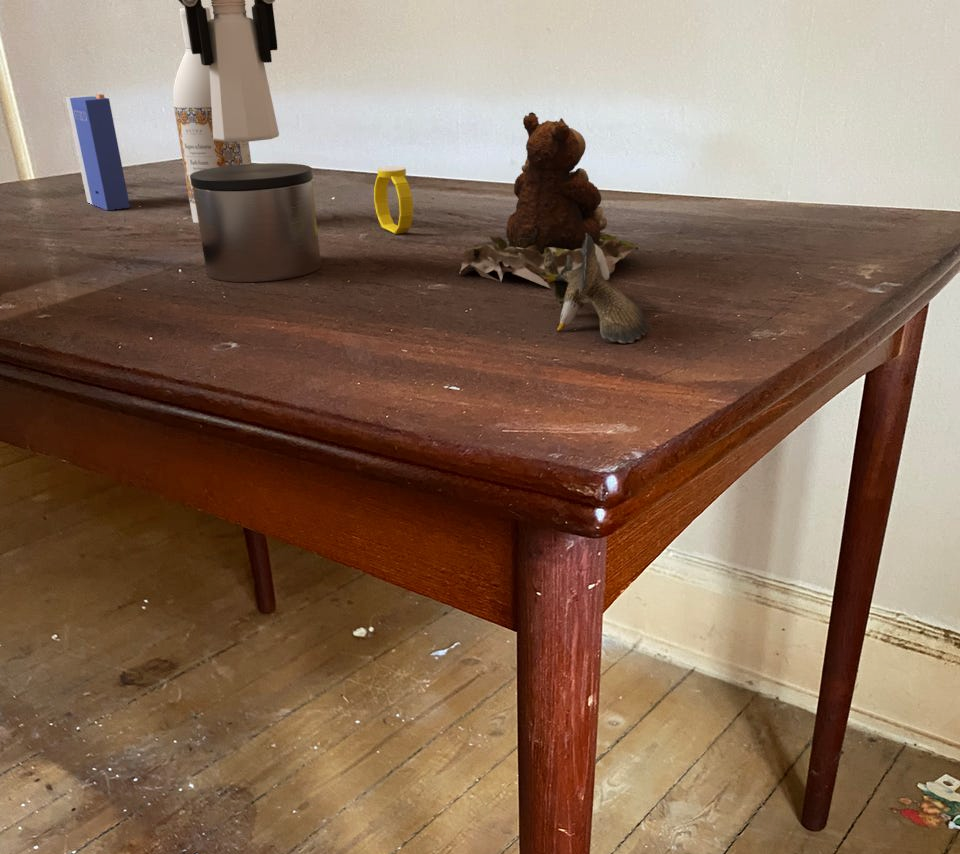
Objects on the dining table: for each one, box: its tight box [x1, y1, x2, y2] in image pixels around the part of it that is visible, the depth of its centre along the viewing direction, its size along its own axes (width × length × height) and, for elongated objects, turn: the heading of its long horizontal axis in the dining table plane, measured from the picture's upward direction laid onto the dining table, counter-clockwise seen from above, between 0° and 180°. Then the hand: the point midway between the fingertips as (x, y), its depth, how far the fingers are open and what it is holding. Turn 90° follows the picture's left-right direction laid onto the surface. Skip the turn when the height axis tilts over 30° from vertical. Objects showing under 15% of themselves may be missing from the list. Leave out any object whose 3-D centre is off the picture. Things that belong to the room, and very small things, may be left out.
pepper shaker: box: [208, 0, 280, 143], centre depth 84 cm, size 5×5×11 cm
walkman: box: [65, 93, 131, 211], centre depth 123 cm, size 8×3×12 cm, turn 35°
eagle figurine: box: [518, 233, 649, 345], centre depth 71 cm, size 8×7×9 cm
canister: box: [190, 162, 322, 283], centre depth 90 cm, size 10×10×8 cm
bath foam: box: [172, 6, 252, 224], centre depth 107 cm, size 7×7×20 cm
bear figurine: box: [458, 112, 639, 289], centre depth 86 cm, size 14×15×12 cm
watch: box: [373, 165, 414, 235], centre depth 104 cm, size 6×3×6 cm, turn 31°
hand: (236, 60), depth 84 cm, fingers closed on pepper shaker, 4 cm apart
